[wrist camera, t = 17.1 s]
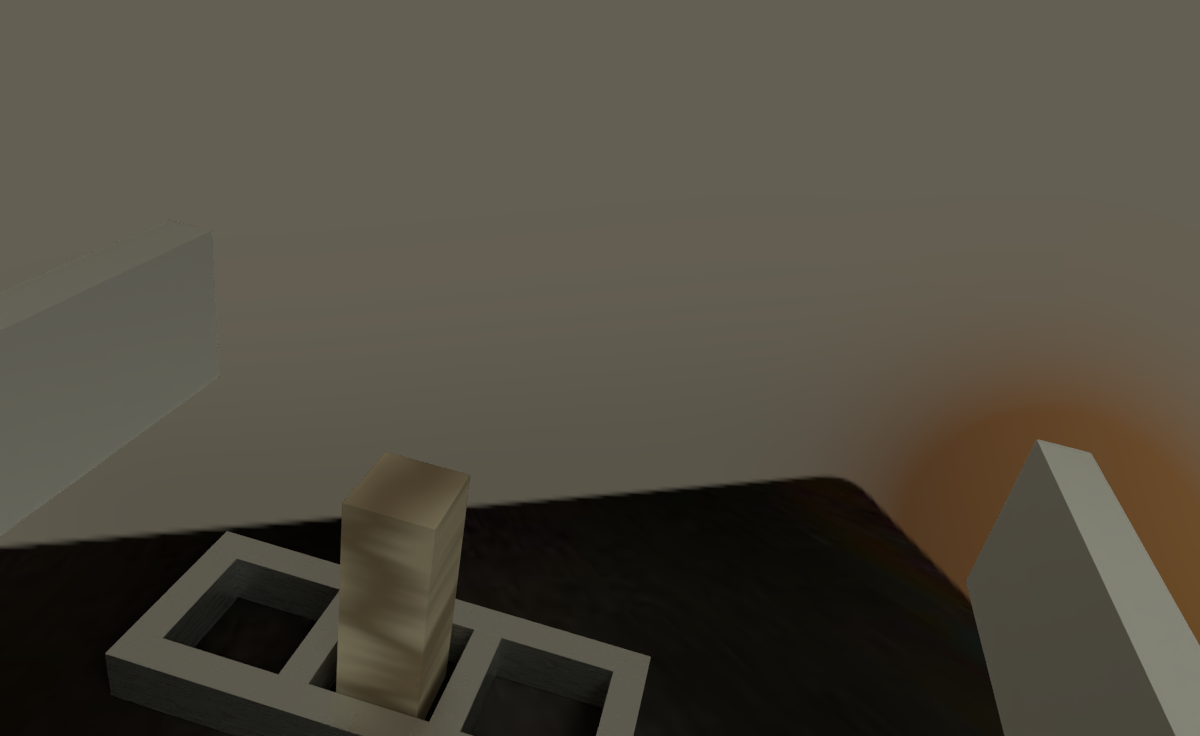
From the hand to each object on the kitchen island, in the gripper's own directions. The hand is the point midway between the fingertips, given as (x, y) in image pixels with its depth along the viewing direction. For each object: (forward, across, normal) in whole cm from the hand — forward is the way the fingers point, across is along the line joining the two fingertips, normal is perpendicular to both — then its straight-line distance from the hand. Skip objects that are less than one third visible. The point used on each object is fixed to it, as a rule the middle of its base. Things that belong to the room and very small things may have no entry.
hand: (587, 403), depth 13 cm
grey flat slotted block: (+19, -10, -32) cm, 38 cm away
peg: (+19, -10, -32) cm, 38 cm away
